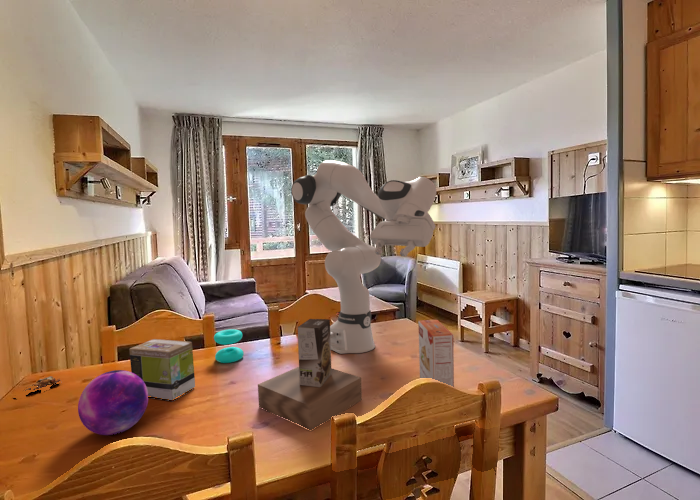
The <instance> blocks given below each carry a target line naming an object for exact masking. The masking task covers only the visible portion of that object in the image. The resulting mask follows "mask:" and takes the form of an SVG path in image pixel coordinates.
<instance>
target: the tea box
mask: <svg viewBox="0 0 700 500" xmlns="http://www.w3.org/2000/svg"><path fill="white" fill-rule="evenodd" d="M193 350H194V349H193V342H192V341H185V340H174V339H173V340H171V339H159V338H158V339H157V338H153V339H150V340H148V341H145V342H144V343H141V344H138V345H136V346H133V347H130V348H129V349H128V351H129V360H130V369H131V370H130V372H132V373H134V374H136V375H137V376H139V377H140V378H141V379H142V380H143V381H144V383H145V385H146V387H147V390H148V396H151V397H157V398H162V399H169V400H173V399H175V398H176V397H178V396H180V395H182V394H183V393H185V392H187V391H189V390H190V389H192V388H194V387H195V388H196V378H195V366H194V365H195V363H194V353H193V352H194V351H193ZM195 388H194V389H195ZM192 390H193V389H192ZM189 392H190V391H189ZM162 399H161V400H162ZM169 400H168V401H169Z"/></svg>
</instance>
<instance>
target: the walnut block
mask: <svg viewBox="0 0 700 500" xmlns="http://www.w3.org/2000/svg"><path fill="white" fill-rule="evenodd" d="M331 372H332V374H331V375H330V377H329V378H328V379H327V380H326V381H325V383H324V384H323V385H322V386H321V387H313V386H304V385H300V384H299V366H297V367H295V368H292V369H290V370H287V371H286V372H283V373H281V374H279V375H277V376H274V377H271V378H270V379H267V380H264V381H262V382H260V383H258V384H257V395H258V396H257V397H258V408H259V407H261V408H263V409H265V410H264V411H266V410H267V411H266V412H268V411H269V412H268V413H270V412H271V413H270V414H272V413H273V414H272V415H274V414H275V415H274V416H276V415H278V416H280V417H279V418H281V417H283V418H285V419H288V420H290V421H292V422H294V423H297V424H299V425H301V426H303V427H305V428H307V429H309V430H312V429H314V428H315V427H317V426H319V425H320V424H322V423H324V422H325V423H326V421H327V422H328V421H330V420H332V419H331V417H332V416H335V415H337V416H338V415H340V414H342V413H343V412H344V411H346V410H347V409H349V408H351V407H353V406H354V405H356V404H357V403H359V402H361V401H363V400H362V399H363V396H362V395H363V394H362V377H361V376H357V375H354V374H351V373H347V372H346V371H345V372H344V371H341V370H338V369H334V368H332V367H331ZM261 408H260V409H261ZM263 409H262V410H263ZM278 416H277V417H278ZM335 417H336V416H335ZM283 418H282V419H283ZM285 419H284V420H285ZM329 419H330V420H329ZM294 423H293V424H294ZM325 423H324V424H325ZM322 425H323V424H322ZM320 426H321V425H320ZM320 426H319V427H320ZM317 428H318V427H317ZM309 430H308V431H309ZM314 430H315V429H314ZM312 431H313V430H312Z"/></svg>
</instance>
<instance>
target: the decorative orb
mask: <svg viewBox="0 0 700 500" xmlns="http://www.w3.org/2000/svg"><path fill="white" fill-rule="evenodd" d="M148 403H149V398H148V390H147V387H146V385H145V383H144V381H143V380H142V379H141V378H140V377H139V376H137V375H136V374H134V373H132V372H131V371H129V370H122V369H117V370H116V369H115V370H111V371H107V372H104V373H101V374H100V375H98V376H96V377H95V378H94V379H92V380H91V381H89V382H88V384H87V385H86V386H85V388H84V389H83V391H82V392H81V394H80V396H79V399H78V404H77V413H78V417H79V420H80V422H81V423H82V425H83V426H84V427H85V428H86V429H87V430H89V431H90V432H91V433H94V434H97V435H100V436H113V434H114V435H117V433H118V434H121V433H123V432H126V431H127V430H129V429H131V428H132V427H133V426H134V425H136V424H137V423H138V422H139V421H140V419H142V417H143V415H144V413H145V412H146V411H147V407H148ZM120 432H121V433H120Z"/></svg>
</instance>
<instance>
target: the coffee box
mask: <svg viewBox="0 0 700 500" xmlns="http://www.w3.org/2000/svg"><path fill="white" fill-rule="evenodd" d="M330 326H331V320H330V319H326V318H324V319H323V318H309V319H307V320H306V321H304V322H303V323H301V324H299V326H297V346H298V348H297V350H298V367H299V384H300V385H304V386H313V387H321V386H322V385H323V384H324V383H325V381H326V380H327V379H328V378H329V377H330V375H331V374H332V372H331V368H332V350H331V342H330Z"/></svg>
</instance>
